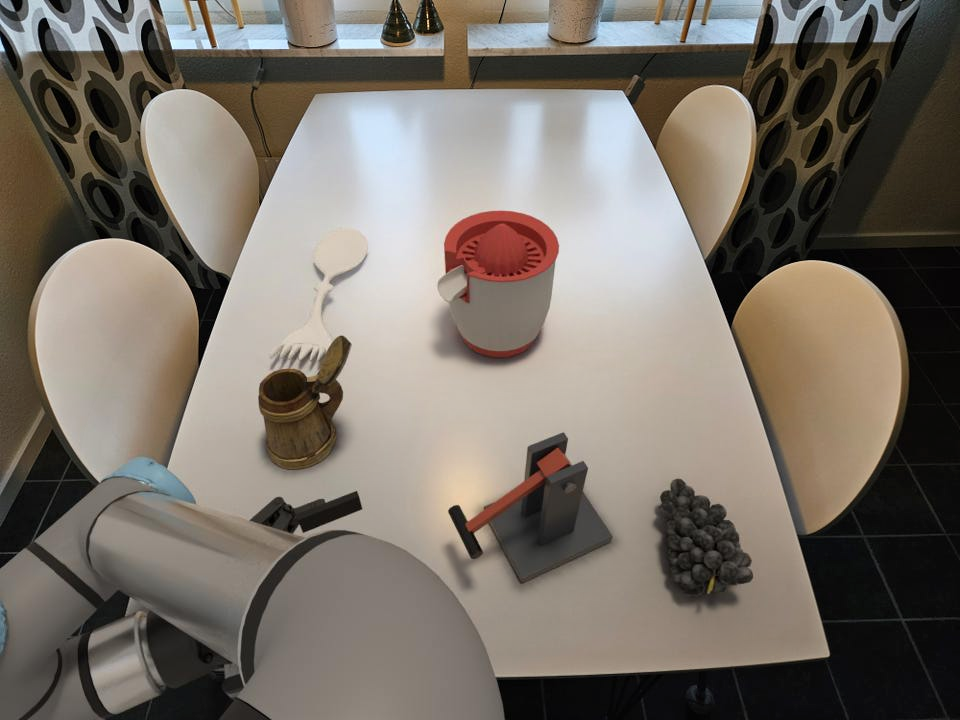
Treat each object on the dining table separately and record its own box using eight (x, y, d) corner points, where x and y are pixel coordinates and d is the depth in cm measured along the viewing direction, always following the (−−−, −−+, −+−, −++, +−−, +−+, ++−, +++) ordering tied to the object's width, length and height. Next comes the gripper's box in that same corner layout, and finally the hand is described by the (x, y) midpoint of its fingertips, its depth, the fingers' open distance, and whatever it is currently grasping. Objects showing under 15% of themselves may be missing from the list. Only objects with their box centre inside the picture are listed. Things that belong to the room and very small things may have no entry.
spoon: (271, 370, 94) (265, 354, 92) (324, 237, 116) (320, 221, 113) (331, 374, 94) (327, 358, 91) (373, 240, 115) (371, 224, 113)
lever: (476, 561, 68) (466, 556, 66) (453, 515, 72) (443, 509, 70) (585, 484, 67) (578, 477, 65) (556, 441, 71) (548, 433, 69)
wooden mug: (370, 462, 84) (350, 370, 70) (263, 472, 82) (223, 380, 69) (370, 409, 90) (352, 314, 76) (271, 417, 88) (235, 323, 75)
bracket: (521, 583, 73) (529, 518, 62) (483, 511, 79) (484, 441, 68) (611, 541, 76) (633, 473, 65) (568, 476, 82) (582, 403, 71)
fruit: (669, 449, 74) (711, 573, 64) (730, 458, 76) (780, 580, 66) (633, 490, 80) (666, 609, 69) (691, 497, 82) (731, 614, 72)
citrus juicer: (419, 325, 101) (410, 217, 86) (511, 286, 107) (517, 179, 93) (472, 389, 92) (472, 282, 77) (569, 343, 98) (585, 235, 84)
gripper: (156, 550, 69) (348, 477, 75) (193, 806, 53) (431, 687, 60) (128, 515, 63) (338, 439, 69) (161, 789, 48) (426, 660, 54)
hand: (381, 554), depth 64 cm, fingers open, 13 cm apart
